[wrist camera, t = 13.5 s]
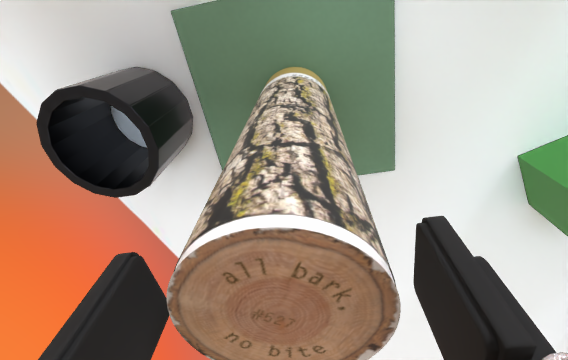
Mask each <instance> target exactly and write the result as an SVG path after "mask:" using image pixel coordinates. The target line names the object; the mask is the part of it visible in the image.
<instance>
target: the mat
mask: <svg viewBox="0 0 568 360" xmlns="http://www.w3.org/2000/svg"><path fill="white" fill-rule="evenodd" d="M171 14H172V17H173V20H174V23H175V26H176V29H177V32H178V35H179V38H180V41H181V44H182V47H183V51H184V54H185V57H186V60H187V63H188V66H189V69H190V72H191V75H192V78H193V81H194V84H195V87H196V90H197V94H198V97H199V100H200V103H201V106H202V109H203V112H204V115H205V118H206V121H207V124H208V127H209V130H210V133H211V137H212V140H213V143H214V146H215V149H216V152H217V155H218V158H219V161H220V164H221V167H222V170H223V169H224V167H225V165H226V163H227V161H228V159H229V157H230V155H231V153H232V151H233V149H234V147H235V145H236V143H237V141H238V139H239V137H240V135H241V133H242V131H243V129H244V127H245V125H246V123H247V121H248V119H249V117H250V115H251V113H252V110H253V108H254V106H255V104H256V102H257V100H258V98H259V96H260V94H261V92H262V91H263V89H264V87H265V85H266V83H267V82H268V80H269V79H270V78H271V77H272V76H273V75H274V74H275V73H277V72H278V71H280V70H282V69H285V68H289V67H302V68H305V69H308V70H310V71H312V72H314V73H315V74H316V75H317V76H318V77H319V78H320V79H321V80H322V81H323V83H324V85H325V87H326V89H327V92H328V95H329V97H330V100H331V103H332V105H333V108H334V111H335V114H336V117H337V120H338V122H339V125H340V128H341V131H342V134H343V136H344V139H345V142H346V145H347V148H348V150H349V153H350V156H351V159H352V162H353V164H354V167H355V170H356V173H357V175H364V174H371V173H378V172H386V171H393V170H395V26H394V0H216V1H212V2H208V3H203V4H199V5H194V6H190V7H186V8H181V9H177V10H173V11H171Z"/></svg>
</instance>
